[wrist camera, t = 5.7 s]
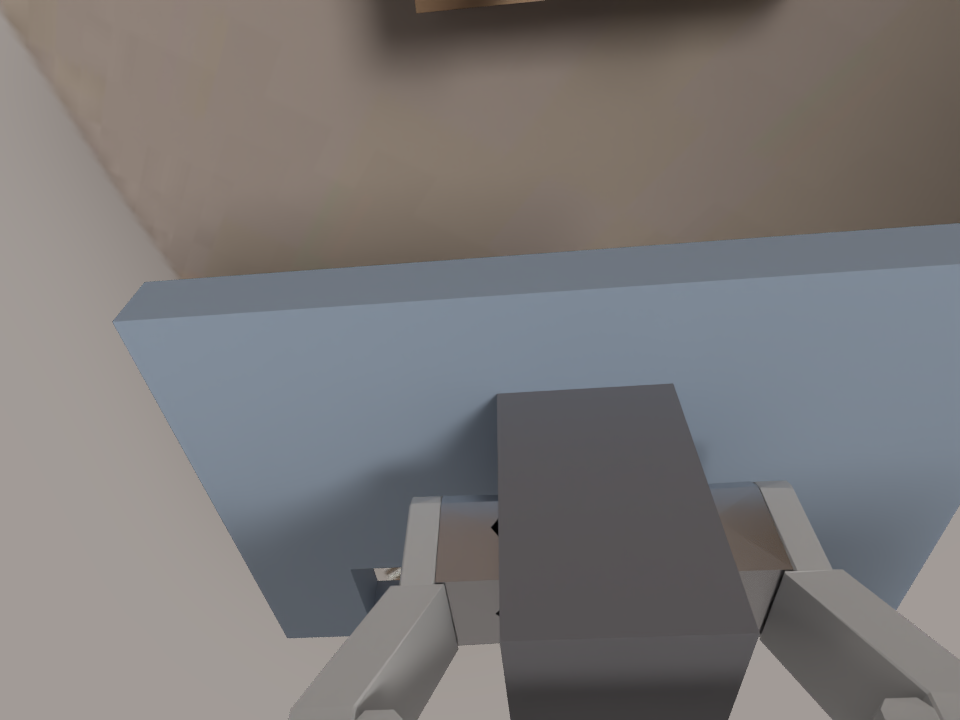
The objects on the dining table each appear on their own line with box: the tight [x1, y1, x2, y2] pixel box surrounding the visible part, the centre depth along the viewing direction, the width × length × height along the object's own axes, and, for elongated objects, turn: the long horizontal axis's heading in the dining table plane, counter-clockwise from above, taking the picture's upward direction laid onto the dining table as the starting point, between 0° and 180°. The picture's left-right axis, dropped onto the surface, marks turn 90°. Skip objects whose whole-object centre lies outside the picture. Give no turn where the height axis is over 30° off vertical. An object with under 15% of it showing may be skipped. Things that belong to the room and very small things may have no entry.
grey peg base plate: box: [113, 223, 960, 720], centre depth 11 cm, size 15×10×6 cm, turn 95°
